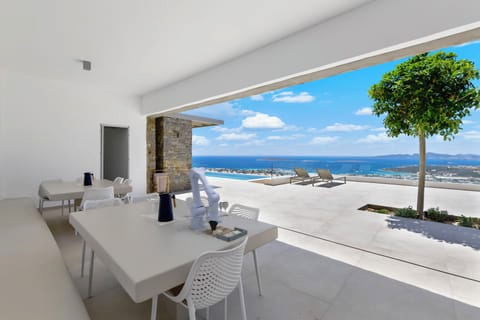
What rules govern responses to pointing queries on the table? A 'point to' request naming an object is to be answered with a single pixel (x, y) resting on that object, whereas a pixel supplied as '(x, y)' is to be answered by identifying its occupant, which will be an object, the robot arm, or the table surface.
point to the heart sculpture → (190, 203)
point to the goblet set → (220, 205)
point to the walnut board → (223, 229)
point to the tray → (228, 239)
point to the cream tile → (217, 232)
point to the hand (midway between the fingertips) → (213, 231)
